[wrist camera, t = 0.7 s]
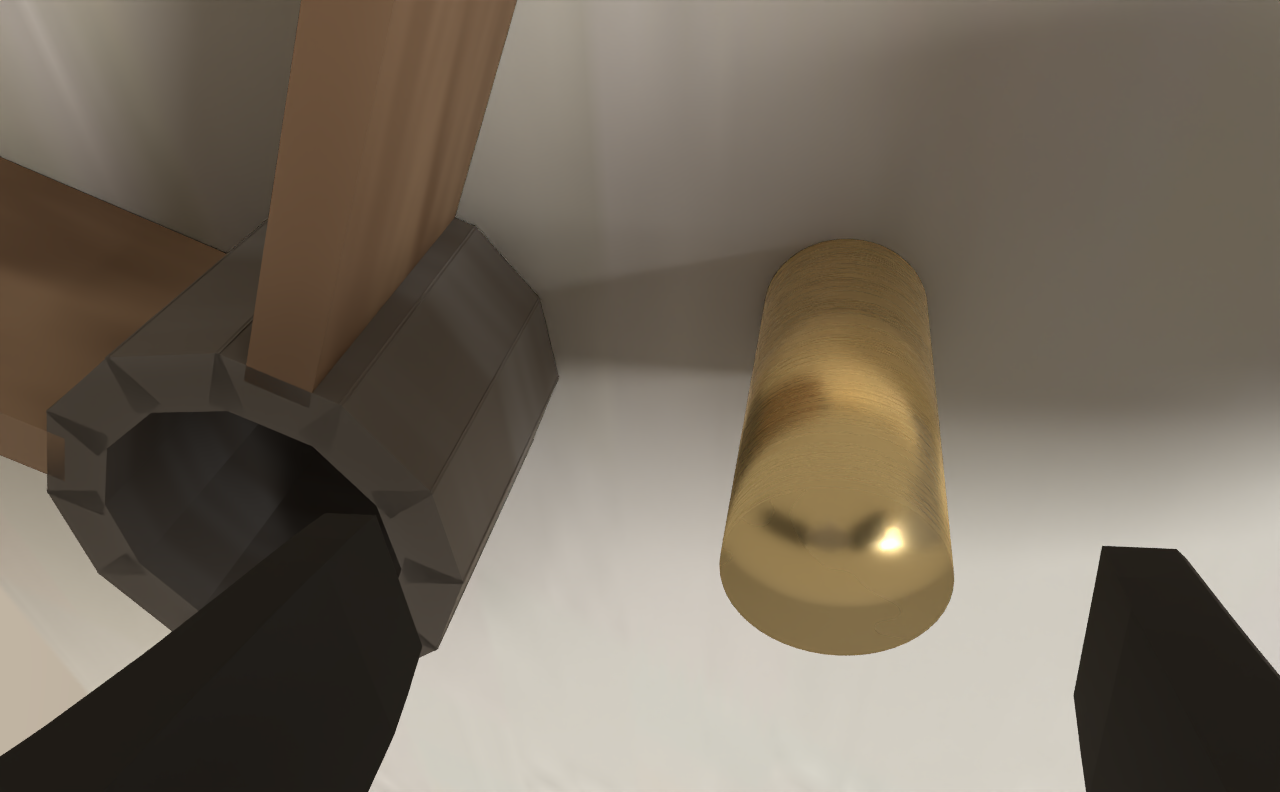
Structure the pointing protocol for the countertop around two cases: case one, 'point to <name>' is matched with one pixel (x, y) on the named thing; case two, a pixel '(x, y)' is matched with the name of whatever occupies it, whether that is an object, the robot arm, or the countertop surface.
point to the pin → (841, 460)
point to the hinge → (288, 334)
